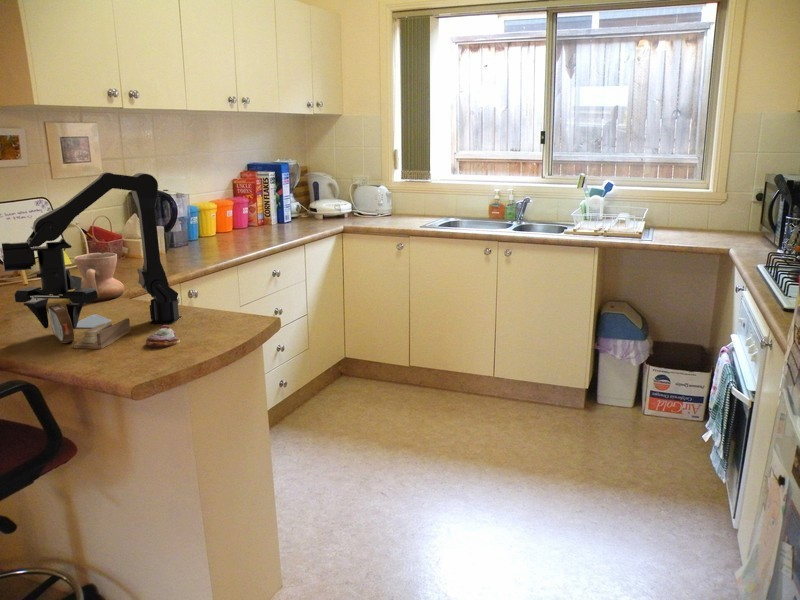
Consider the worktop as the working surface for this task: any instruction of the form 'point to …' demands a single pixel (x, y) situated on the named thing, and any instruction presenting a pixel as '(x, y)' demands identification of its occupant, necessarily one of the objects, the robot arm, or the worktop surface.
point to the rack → (108, 335)
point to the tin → (61, 323)
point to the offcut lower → (89, 339)
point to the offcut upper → (96, 329)
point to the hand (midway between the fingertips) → (60, 328)
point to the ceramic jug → (100, 274)
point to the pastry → (162, 338)
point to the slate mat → (91, 322)
